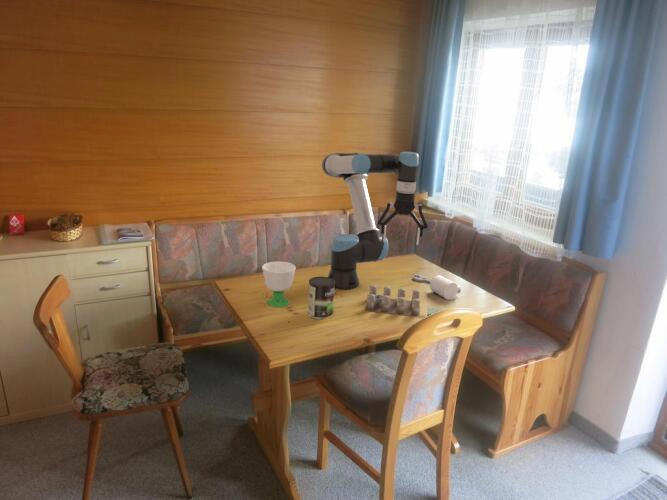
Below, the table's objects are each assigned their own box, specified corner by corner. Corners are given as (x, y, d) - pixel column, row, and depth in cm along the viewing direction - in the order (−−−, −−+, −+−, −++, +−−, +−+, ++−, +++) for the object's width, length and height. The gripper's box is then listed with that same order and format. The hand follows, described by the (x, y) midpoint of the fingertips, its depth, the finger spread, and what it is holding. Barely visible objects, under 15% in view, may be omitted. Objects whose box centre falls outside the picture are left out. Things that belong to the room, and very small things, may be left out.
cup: (281, 293, 210) (281, 259, 205) (301, 303, 201) (302, 268, 196) (254, 301, 201) (254, 265, 196) (275, 312, 192) (275, 275, 187)
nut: (372, 306, 199) (373, 298, 198) (373, 301, 204) (374, 294, 203) (383, 307, 199) (384, 299, 198) (384, 302, 204) (384, 295, 203)
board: (364, 313, 195) (365, 297, 193) (368, 298, 210) (369, 283, 208) (419, 319, 192) (421, 303, 190) (419, 303, 207) (421, 288, 205)
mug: (442, 301, 212) (445, 283, 209) (428, 292, 220) (430, 276, 218) (463, 297, 217) (466, 280, 215) (449, 289, 226) (451, 273, 223)
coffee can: (338, 313, 194) (340, 280, 190) (324, 322, 186) (326, 287, 182) (317, 306, 199) (318, 274, 195) (302, 314, 191) (303, 281, 187)
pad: (420, 315, 196) (421, 313, 196) (420, 308, 203) (420, 306, 202) (440, 317, 195) (441, 315, 195) (440, 310, 202) (440, 308, 201)
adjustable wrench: (461, 292, 224) (462, 288, 223) (454, 295, 219) (454, 292, 219) (417, 276, 240) (417, 273, 240) (409, 279, 236) (409, 276, 236)
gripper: (374, 191, 191) (369, 242, 197) (438, 195, 188) (432, 247, 195) (374, 187, 198) (370, 237, 204) (436, 192, 195) (430, 242, 202)
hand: (400, 242), depth 199 cm, fingers open, 13 cm apart
